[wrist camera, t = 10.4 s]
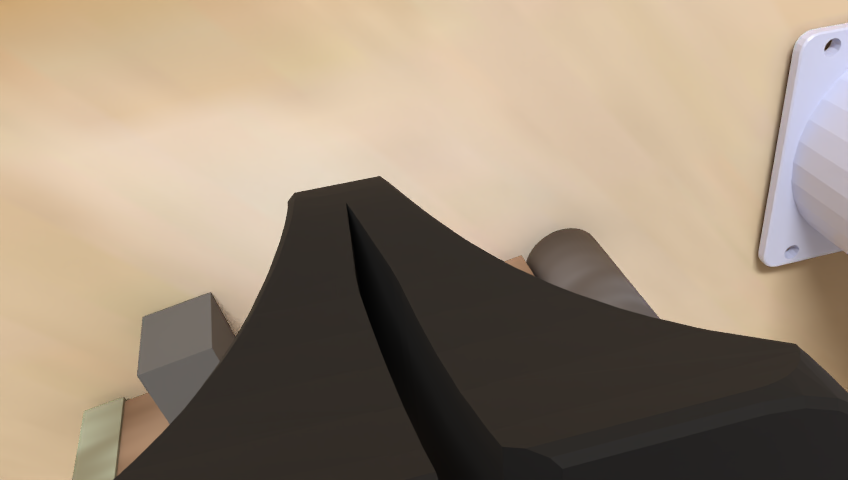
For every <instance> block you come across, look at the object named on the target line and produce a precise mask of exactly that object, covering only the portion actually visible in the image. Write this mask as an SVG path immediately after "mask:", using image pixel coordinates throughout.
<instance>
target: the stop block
mask: <svg viewBox="0 0 848 480" xmlns="http://www.w3.org/2000/svg"><path fill="white" fill-rule="evenodd" d="M234 339H235V336H234V334H233V332H232V330H231V328H230V327H229V325H228V323H227V321H226V319H225V318H224V316H223V314H222V312H221V310H220V308H219V307H218V305H217V303H216V301H215V299H214V297H213V296H212V294H211V292H210V293H207V294H204V295H202V296H199V297H196V298H194V299H191V300H188V301H185V302H183V303H180V304H177V305H174V306H172V307H169V308H166V309H164V310H161V311H158V312H155V313H153V314H150V315H147V316H145V317H143V319H142V330H141V340H140V350H139V361H138V371H137V376H138V378H139V379H140V381H141V382H142V384H143V385H144V387H145V388H146V390H147V391H148V393H149V394H150V396H151V397H152V399H153V400H154V402H155V403H156V405H157V406H158V408H159V409H160V411H161V412H162V413H163V415H164V416H165V418H166V419H167V421H168V422H169V424H171V423H172V421H173V420H174V419H175V418H176V417H177V416H178V415H179V414H180V413H181V412H182V411H183V409H184V408H185V407H186V406H187V405H188V403H189V402H190V401H191V400H192V398H193V397H194V396H195V395H196V393H197V392H198V391H199V389H200V388H201V387H202V385H203V384H204V383H205V381H206V380H207V378H208V377H209V376H210V374H211V373H212V372H213V370H214V369H215V368H216V366H217V365H218V364H219V362H220V361H221V359H222V358H223V356H224V355H225V353H226V352H227V350H228V348H229V347H230V345H231V344H232V342H233V341H234Z"/></svg>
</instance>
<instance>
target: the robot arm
mask: <svg viewBox="0 0 848 480" xmlns="http://www.w3.org/2000/svg"><path fill="white" fill-rule="evenodd" d="M831 39H832V42H831V44H830V46H829V48H828V49H827V50H825V51H824V48H825V46H826V44H827V43H828V42H829V41H830V40H831ZM789 247H790V248H789ZM788 248H789V249H788ZM787 249H788V250H787ZM786 250H787V251H786ZM840 251H844V252H845V253H846V254H848V23H844V24H838V25H833V26H827V27H822V28H816V29H812V30H809V31H806V32H805V33H804V34H802V35H801V36H800V37H799V39H798V40H797V41H796V43H795V46H794V49H793V54H792V60H791V65H790V71H789V77H788V83H787V89H786V95H785V100H784V106H783V112H782V118H781V124H780V129H779V135H778V141H777V147H776V153H775V159H774V164H773V170H772V176H771V182H770V188H769V193H768V199H767V205H766V211H765V217H764V223H763V228H762V234H761V240H760V246H759V252H758V257H759V259H760V260H761V261H762V262H763V263H764V264H765V265H767V266H769V267H776V266H780V265H784V264H789V263H793V262H797V261H801V260H806V259H810V258H814V257H819V256H823V255H827V254H831V253H836V252H840ZM113 480H848V393H847V392H846V391H845V390H844V389H843V388H842V387H841V386H840V385H839V384H838V383H837V382H836V381H835V380H834V378H833V377H832V376H831V375H829V374H828V373H827V372H826V371H825V370H824V369H823V368H822V367H821V366H820V365H819V364H818V363H817V362H815V361H814V360H813V359H812V358H811V357H810V356H809V355H808V354H807V353H805V352H804V351H803V350H802V349H801V348H799V347H798V346H797V345H796V344H792V343H786V342H780V341H773V340H767V339H761V338H755V337H748V336H742V335H736V334H730V333H723V332H717V331H711V330H706V329H701V328H696V327H691V326H687V325H683V324H679V323H675V322H670V321H666V320H662V319H658V318H653V317H649V316H646V315H642V314H639V313H635V312H632V311H628V310H624V309H621V308H618V307H614V306H612V305H609V304H606V303H603V302H600V301H597V300H594V299H591V298H588V297H585V296H582V295H579V294H576V293H573V292H571V291H568V290H566V289H563V288H561V287H558V286H556V285H553V284H551V283H548V282H546V281H544V280H542V279H540V278H537V277H535V276H533V275H531V274H529V273H526V272H524V271H522V270H520V269H518V268H515V267H513V266H512V265H510V264H508V263H506V262H504V261H502V260H500V259H498V258H496V257H494V256H493V255H491V254H489V253H488V252H486V251H484V250H482V249H481V248H479V247H477V246H475V245H474V244H472V243H470V242H469V241H467V240H465V239H464V238H462V237H461V236H459V235H458V234H456V233H455V232H453V231H452V230H451V229H449V228H448V227H446V226H445V225H443V224H442V223H440V222H439V221H438V220H436V219H435V218H433V217H432V216H431V215H429V214H428V213H427V212H425V211H424V210H423V209H421V208H420V207H419V206H418V205H416V204H415V203H414V202H412V201H411V200H410V199H409V198H407V197H406V196H405V195H404V194H402V193H401V192H400V191H399V190H397V189H396V188H395V187H394V186H393V185H391V184H390V183H389V182H387V181H386V180H385V179H383V178H382V177H380V176H378V177H373V178H368V179H363V180H358V181H353V182H348V183H342V184H337V185H332V186H327V187H322V188H317V189H312V190H307V191H302V192H297V193H294V194H293V196H292V197H291V198H290V199H289V201H288V210H287V217H286V221H285V226H284V229H283V233H282V236H281V240H280V243H279V246H278V248H277V251H276V254H275V256H274V259H273V262H272V265H271V267H270V270H269V273H268V275H267V277H266V280H265V282H264V284H263V286H262V288H261V290H260V292H259V294H258V296H257V298H256V300H255V303H254V305H253V307H252V309H251V311H250V313H249V315H248V317H247V318H246V320H245V322H244V324H243V325H242V327H241V329H240V331H239V332H238V334H237V336H236V337H235V339H234V341H233V342H232V344H231V345H230V347H229V348H228V350H227V352H226V353H225V355H224V356H223V358H222V359H221V361H220V362H219V364H218V365H217V366H216V368H215V369H214V370H213V372H212V373H211V374H210V376H209V377H208V378H207V380H206V381H205V383H204V384H203V385H202V387H201V388H200V389H199V391H198V392H197V393H196V395H195V396H194V397H193V398H192V400H191V401H190V402H189V403H188V405H187V406H186V407H185V408H184V409H183V411H182V412H181V413H180V414H179V415H178V416H177V417H176V418H175V419H174V420H173V421H172V423H171V424H170V425H169V426H168V427H167V428H166V429H165V430H164V431H163V432H162V433H161V434H160V435H159V436H158V437H157V438H156V439H155V440H154V441H153V442H152V443H151V444H150V445H149V446H148V447H147V448H146V449H145V450H144V451H143V452H142V453H141V454H140V455H139V456H138V457H137V458H136V459H135V460H134V461H133V462H132V463H131V464H130V465H129V466H128V467H127V468H125V469H124V470H123V471H122V472H121V473H120V474H119V475H118V476H117V477H115V478H114V479H113Z"/></svg>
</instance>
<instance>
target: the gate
mask: <svg viewBox="0 0 848 480" xmlns="http://www.w3.org/2000/svg"><path fill="white" fill-rule="evenodd" d="M505 262H506V263H508V264H510V265H512V266H513V267H515V268H518V269H520V270H522V271H524V272H526V273H529V274H531V275H533V276H535V277H537V278H540V279H542V280H544V281H546V282H548V283H551V284H553V285H556V286H558V287H561V288H563V289H566V290H568V291H571V292H573V293H576V294H579V295H582V296H585V297H588V298H591V299H594V300H597V301H600V302H603V303H606V304H609V305H612V306H614V307H618V308H621V309H624V310H628V311H632V312H635V313H639V314H642V315H646V316H649V317H653V318H658V319H660V318H659V317H658V316H657V315H656V313H655V312H654V311H653V310H652V309H651V307H650V306H649V305H648V304H647V302H646V301H645V300H644V299H643V298H642V296H641V295H640V294H639V293H638V291H637V290H636V289H635V288H634V286H633V285H632V284H631V283H630V282H629V280H628V279H627V278H626V277H625V275H624V274H623V273H622V272H621V271H620V269H619V268H618V267H617V266H616V264H615V263H614V262H613V261H612V260H611V258H610V257H609V256H608V255H607V253H606V252H605V251H604V250H603V249H602V247H601V246H600V245H599V244H598V242H597V241H596V240H595V239H594V238H593V237H592V235H590V234H589V233H587V232H586V231H583V230H580V229H573V228H569V229H562V230H559V231H556V232H553V233H551V234H549V235H548V236H546V237H545V238H543V239H542V240H541V241H540V242H538V243H537V245H536V246H535V247H534V248H533V249H532V251H531V253H530V254H529V257H528V259H527V262H525V260H524V259H523V257H522V255H521V256H518V257H516V258H513V259H510V260H507V261H505ZM169 425H170V424H169V422H168V421H167V419H166V418H165V416H164V415H163V413H162V412H161V411H160V409H159V408H158V406H157V405H156V403H155V402H154V400H153V399H152V397H151V396H150V394H149V393H146V394H143V395H141V396H138V397H135V398H133V399H130V400H127V401H126V399H125V398H124V397H121V398H119V399H116V400H113V401H110V402H108V403H105V404H102V405H99V406H97V407H94V408H91V409H89V410H86V411H84V414H83V420H82V425H81V431H80V437H79V443H78V449H77V454H76V460H75V466H74V472H73V478H72V480H113V479H114V478H115V477H117V476H118V475H119V474H120V473H121V472H122V471H123V470H124V469H125V468H127V467H128V466H129V465H130V464H131V463H132V462H133V461H134V460H135V459H136V458H137V457H138V456H139V455H140V454H141V453H142V452H143V451H144V450H145V449H146V448H147V447H148V446H149V445H150V444H151V443H152V442H153V441H154V440H155V439H156V438H157V437H158V436H159V435H160V434H161V433H162V432H163V431H164V430H165V429H166V428H167V427H168V426H169Z"/></svg>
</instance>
